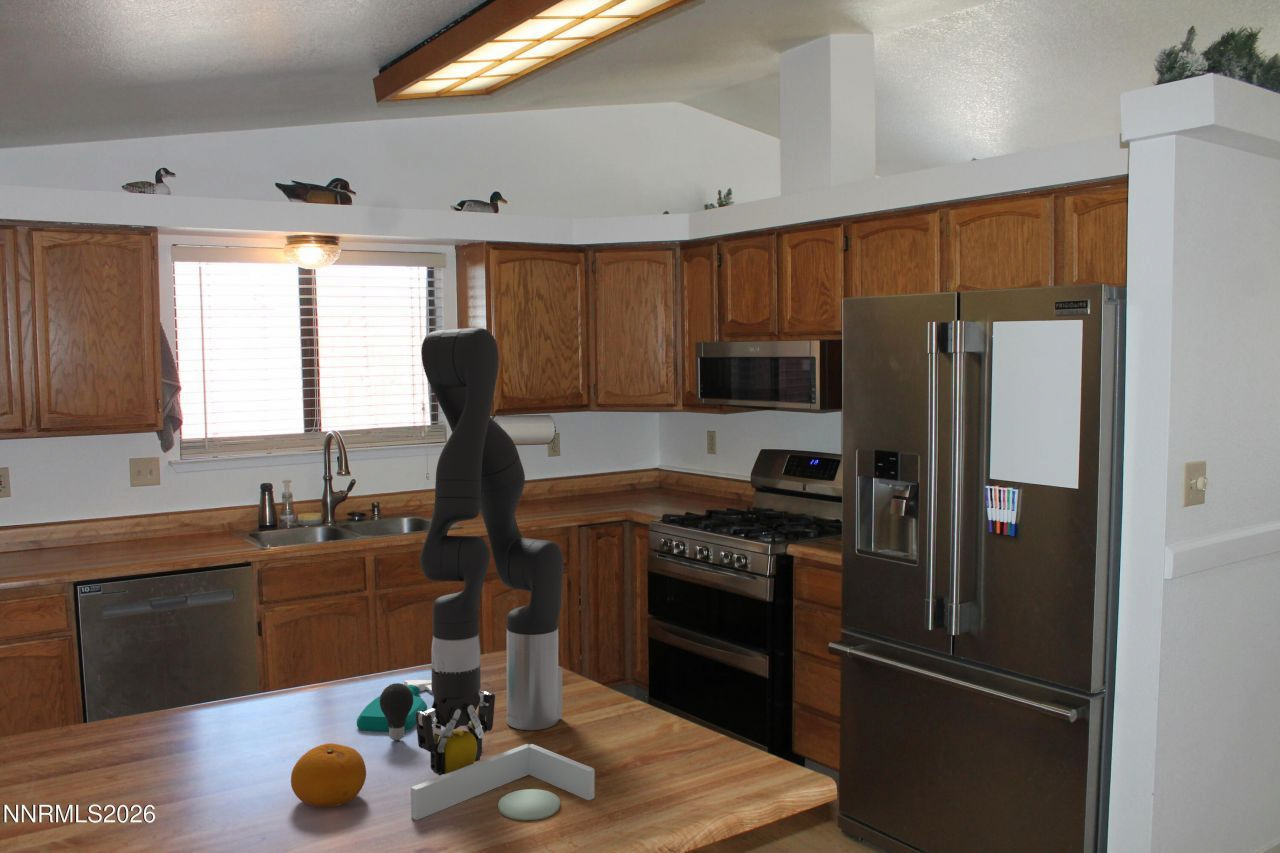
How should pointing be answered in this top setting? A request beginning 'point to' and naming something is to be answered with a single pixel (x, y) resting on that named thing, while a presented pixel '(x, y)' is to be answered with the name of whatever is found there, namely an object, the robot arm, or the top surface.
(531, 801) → the pad
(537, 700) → the robot arm
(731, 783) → the top surface
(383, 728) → the spray bottle
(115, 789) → the top surface
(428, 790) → the grey corner wall
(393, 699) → the light bulb
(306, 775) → the fruit
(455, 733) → the apple
